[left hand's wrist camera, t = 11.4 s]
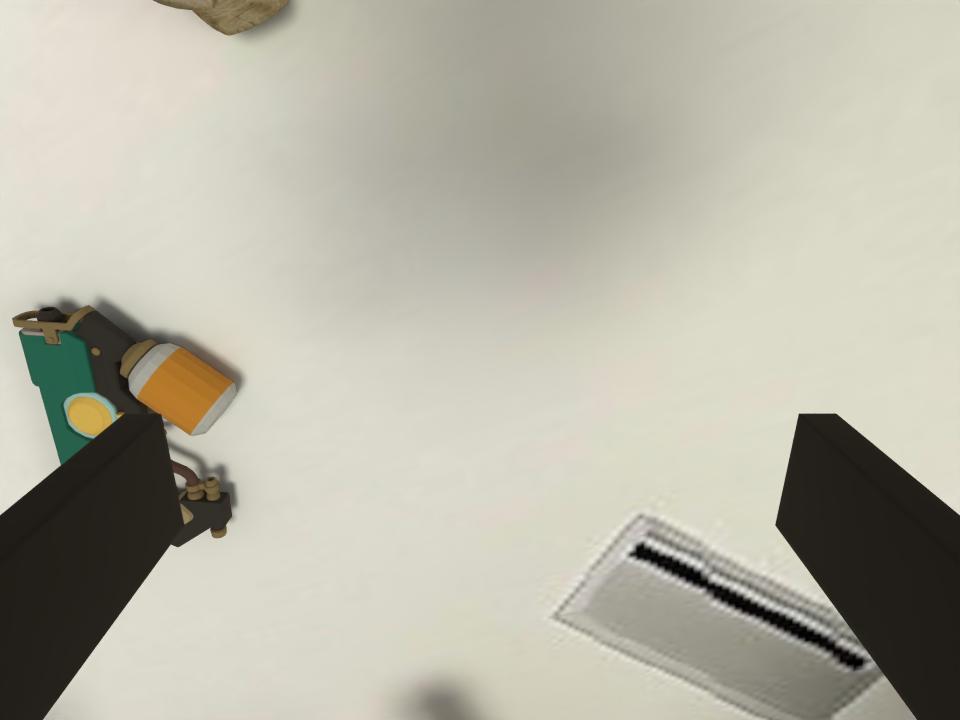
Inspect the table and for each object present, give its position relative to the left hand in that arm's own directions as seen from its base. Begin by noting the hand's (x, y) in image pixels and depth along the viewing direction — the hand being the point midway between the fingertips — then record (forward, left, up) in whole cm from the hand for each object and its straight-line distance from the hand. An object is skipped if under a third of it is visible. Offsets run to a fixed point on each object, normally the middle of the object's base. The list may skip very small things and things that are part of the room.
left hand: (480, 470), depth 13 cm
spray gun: (+23, -14, -27) cm, 38 cm away
